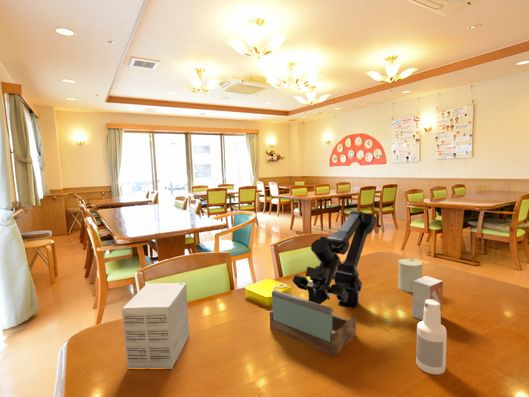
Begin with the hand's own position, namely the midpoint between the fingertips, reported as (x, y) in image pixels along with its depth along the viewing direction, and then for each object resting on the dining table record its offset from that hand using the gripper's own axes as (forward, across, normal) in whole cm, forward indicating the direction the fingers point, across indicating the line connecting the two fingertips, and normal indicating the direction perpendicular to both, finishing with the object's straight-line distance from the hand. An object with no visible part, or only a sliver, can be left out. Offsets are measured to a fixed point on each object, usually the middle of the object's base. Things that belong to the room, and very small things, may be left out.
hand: (309, 311), depth 99 cm
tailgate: (+7, 0, -1) cm, 7 cm away
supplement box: (+31, -30, -19) cm, 47 cm away
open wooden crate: (+4, 0, +6) cm, 8 cm away
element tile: (-4, -29, +16) cm, 33 cm away
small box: (-19, +26, +29) cm, 44 cm away
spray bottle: (+1, +34, +10) cm, 35 cm away
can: (-35, +14, +44) cm, 58 cm away
